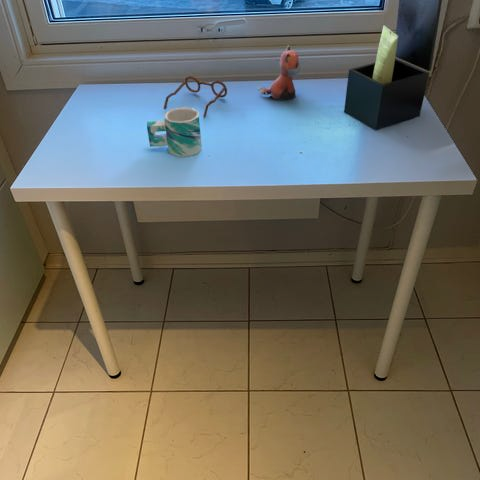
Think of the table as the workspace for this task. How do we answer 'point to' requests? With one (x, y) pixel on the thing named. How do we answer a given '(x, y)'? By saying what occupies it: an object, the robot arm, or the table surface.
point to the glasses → (198, 91)
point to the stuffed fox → (284, 77)
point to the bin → (385, 95)
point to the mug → (177, 132)
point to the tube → (385, 56)
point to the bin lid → (417, 31)
